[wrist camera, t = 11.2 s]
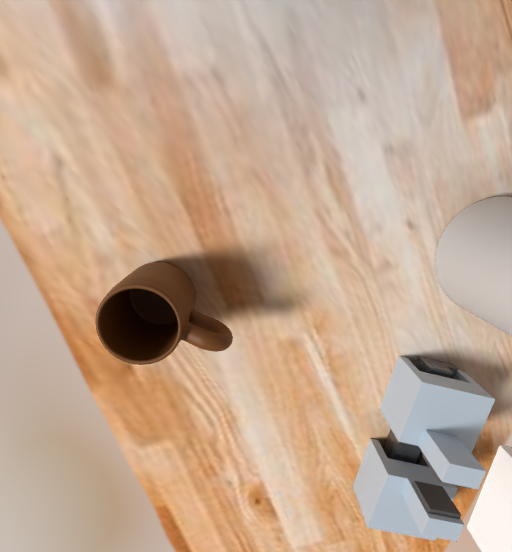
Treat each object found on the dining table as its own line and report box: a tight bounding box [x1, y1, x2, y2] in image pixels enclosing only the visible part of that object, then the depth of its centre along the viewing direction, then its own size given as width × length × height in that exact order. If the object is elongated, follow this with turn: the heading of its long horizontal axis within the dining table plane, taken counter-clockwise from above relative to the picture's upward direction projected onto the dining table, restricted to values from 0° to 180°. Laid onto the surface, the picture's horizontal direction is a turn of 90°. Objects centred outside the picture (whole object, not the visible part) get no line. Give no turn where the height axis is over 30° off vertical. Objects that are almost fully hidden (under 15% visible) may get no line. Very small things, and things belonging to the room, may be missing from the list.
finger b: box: [379, 356, 496, 489], centre depth 41 cm, size 8×8×11 cm
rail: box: [383, 356, 458, 465], centre depth 46 cm, size 20×4×3 cm, turn 165°
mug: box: [96, 262, 233, 365], centre depth 38 cm, size 12×8×9 cm, turn 72°
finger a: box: [353, 438, 464, 542], centre depth 43 cm, size 8×8×11 cm
